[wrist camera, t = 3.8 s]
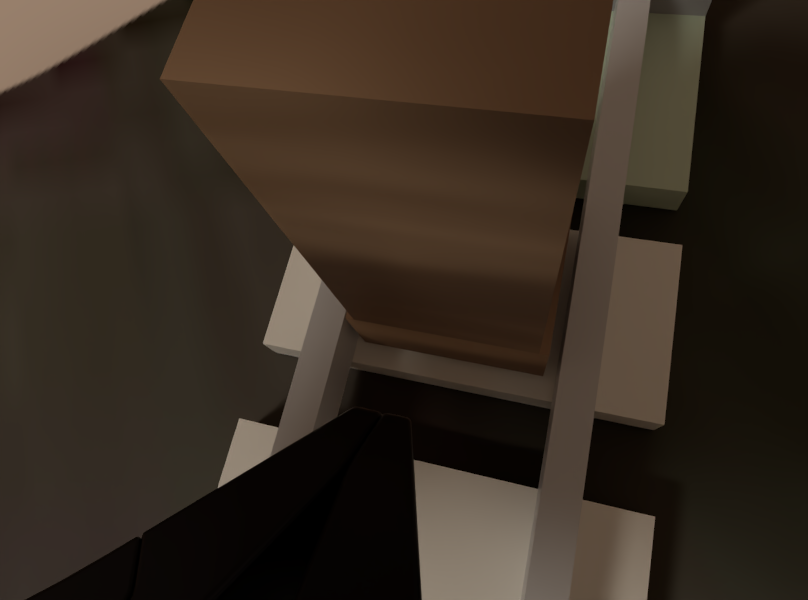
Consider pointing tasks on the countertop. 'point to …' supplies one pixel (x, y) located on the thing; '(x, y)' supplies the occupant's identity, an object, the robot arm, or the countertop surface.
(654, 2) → the track
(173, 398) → the countertop surface
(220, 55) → the slider
